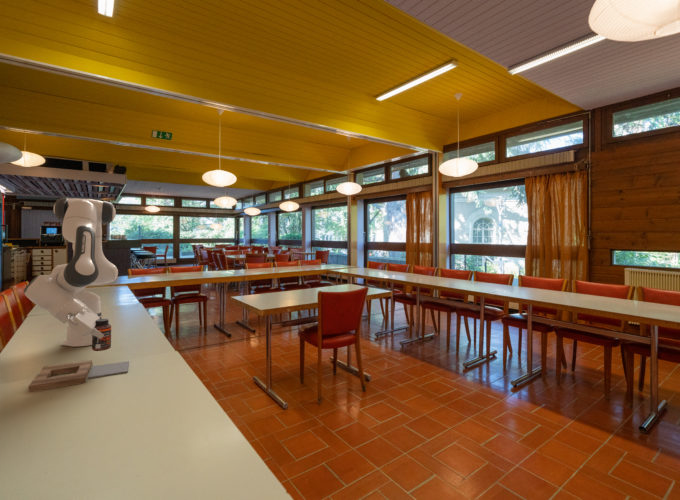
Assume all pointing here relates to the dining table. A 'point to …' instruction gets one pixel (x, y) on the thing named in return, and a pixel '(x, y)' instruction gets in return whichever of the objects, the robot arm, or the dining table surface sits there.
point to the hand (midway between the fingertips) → (103, 334)
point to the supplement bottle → (105, 341)
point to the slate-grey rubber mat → (109, 369)
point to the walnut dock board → (47, 381)
